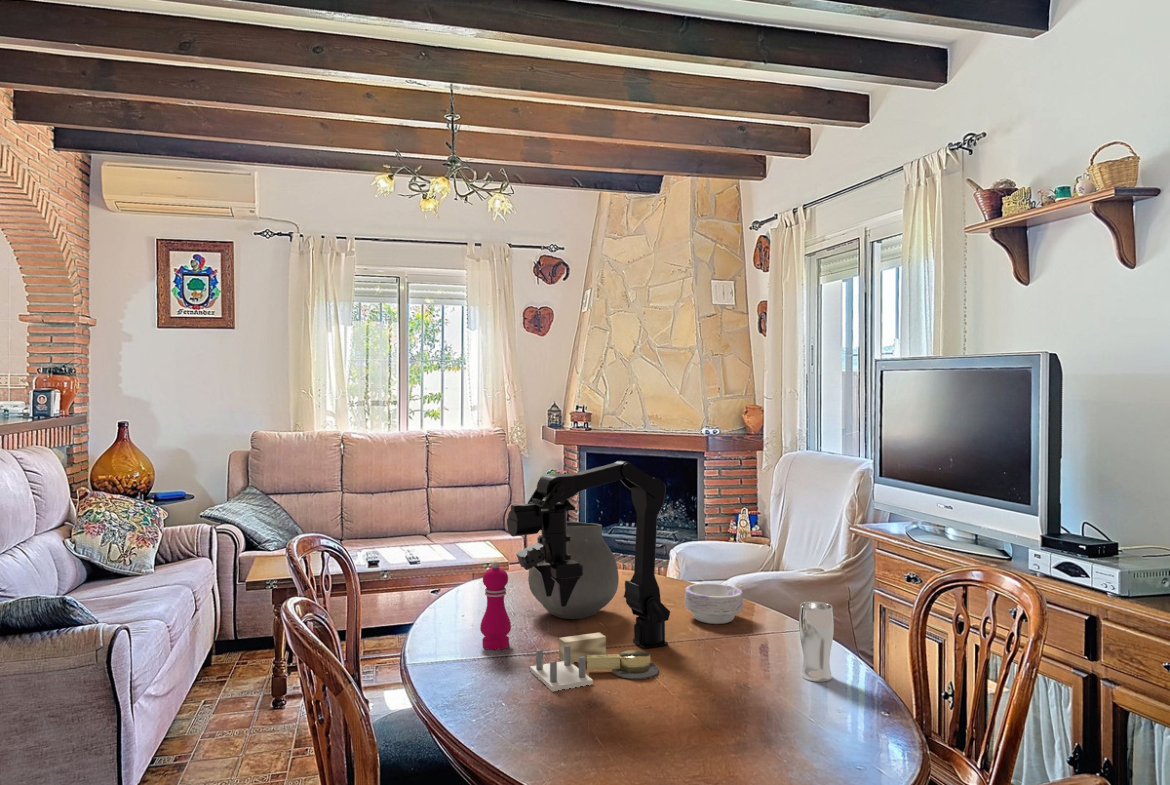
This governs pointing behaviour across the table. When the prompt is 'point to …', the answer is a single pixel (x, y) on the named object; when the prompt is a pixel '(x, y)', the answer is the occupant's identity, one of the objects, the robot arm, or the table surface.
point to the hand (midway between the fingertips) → (555, 601)
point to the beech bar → (583, 646)
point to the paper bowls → (713, 602)
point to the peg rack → (561, 672)
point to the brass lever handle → (620, 661)
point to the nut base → (637, 673)
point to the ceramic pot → (596, 579)
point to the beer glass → (816, 640)
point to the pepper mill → (495, 609)
